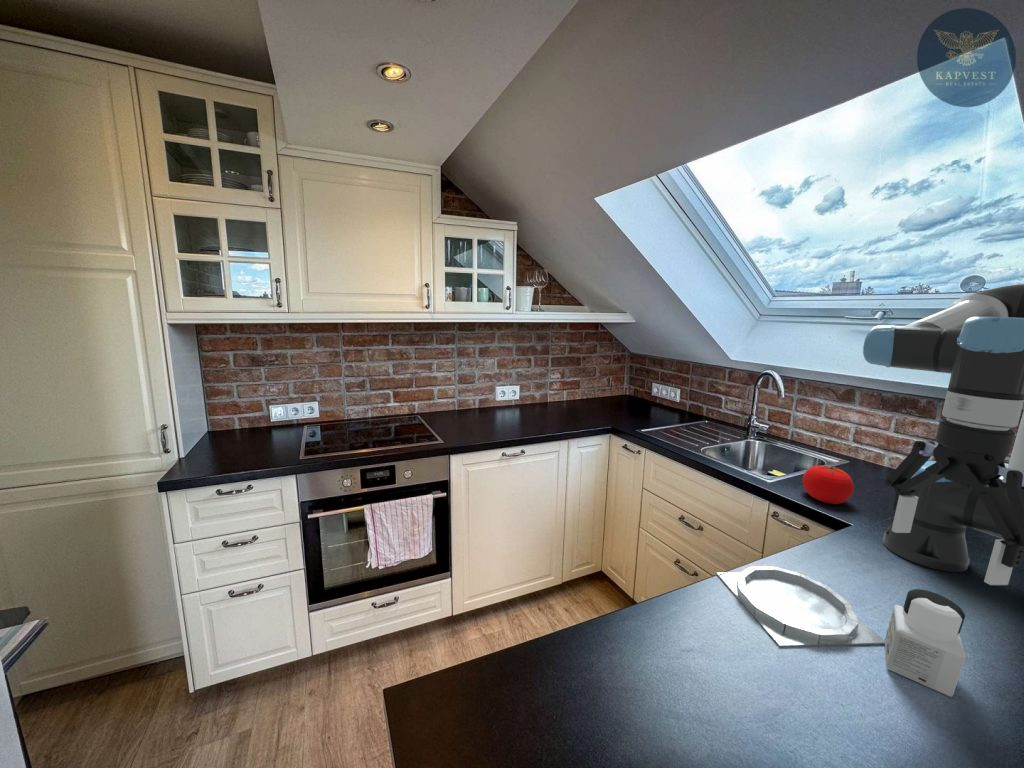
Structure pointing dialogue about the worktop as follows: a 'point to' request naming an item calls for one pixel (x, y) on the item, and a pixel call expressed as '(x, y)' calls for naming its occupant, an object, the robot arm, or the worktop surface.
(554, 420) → the worktop surface
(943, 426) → the robot arm
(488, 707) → the worktop surface
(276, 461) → the worktop surface
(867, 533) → the worktop surface
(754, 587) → the duct collar
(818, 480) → the tomato
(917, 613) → the container
